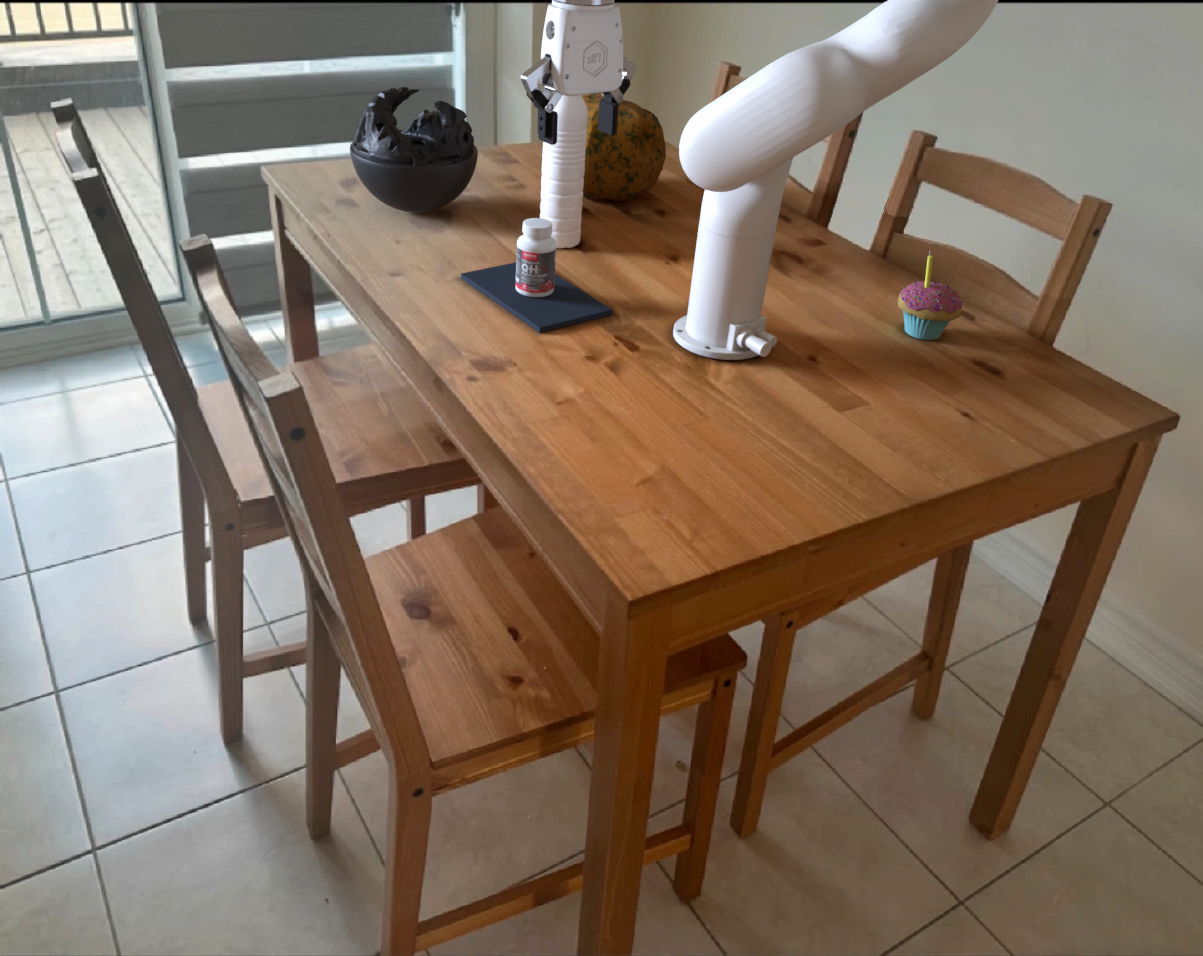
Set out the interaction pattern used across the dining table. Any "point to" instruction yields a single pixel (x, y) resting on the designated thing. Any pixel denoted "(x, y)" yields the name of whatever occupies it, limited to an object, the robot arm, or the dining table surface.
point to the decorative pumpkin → (622, 152)
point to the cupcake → (928, 306)
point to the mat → (537, 299)
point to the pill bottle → (536, 259)
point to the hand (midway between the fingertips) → (577, 137)
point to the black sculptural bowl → (413, 154)
